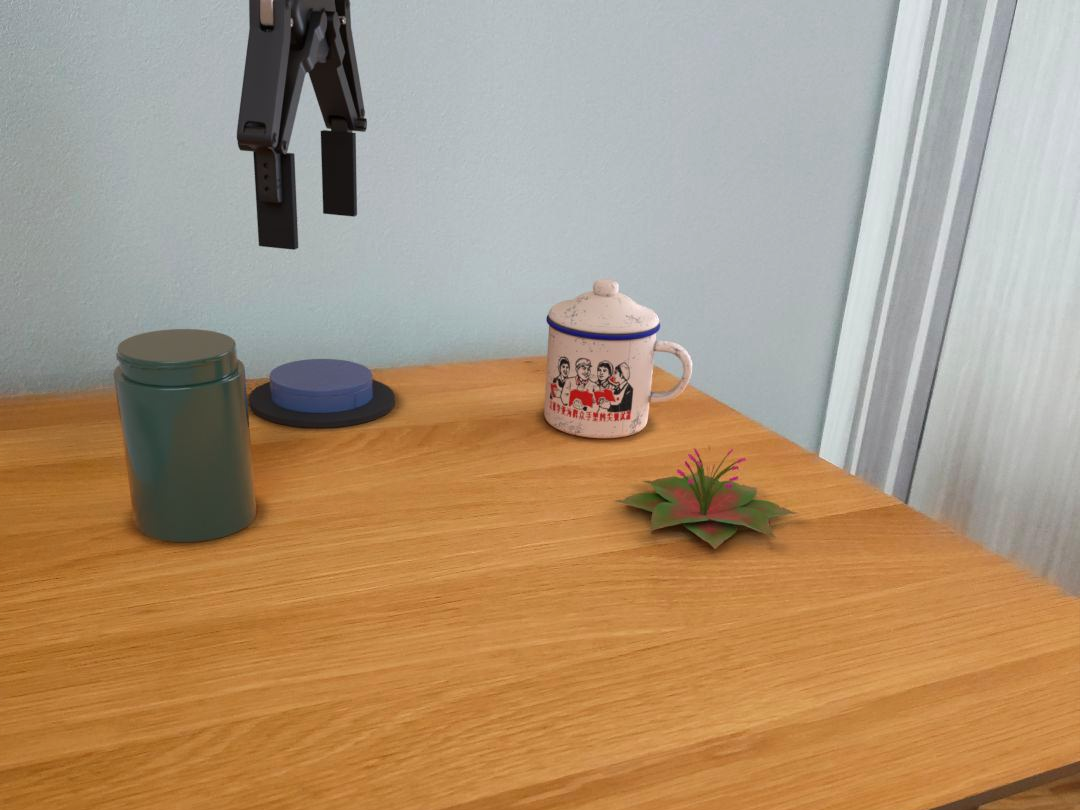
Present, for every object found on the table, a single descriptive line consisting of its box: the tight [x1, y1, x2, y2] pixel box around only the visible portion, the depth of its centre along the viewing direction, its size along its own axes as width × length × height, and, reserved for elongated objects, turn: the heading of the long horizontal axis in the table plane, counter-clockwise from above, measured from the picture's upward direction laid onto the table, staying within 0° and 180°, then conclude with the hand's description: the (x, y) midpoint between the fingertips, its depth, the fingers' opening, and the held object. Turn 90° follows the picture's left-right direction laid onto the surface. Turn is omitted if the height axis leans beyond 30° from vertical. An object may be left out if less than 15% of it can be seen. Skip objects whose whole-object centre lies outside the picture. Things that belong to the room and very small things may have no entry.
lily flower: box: [613, 446, 798, 550], centre depth 72 cm, size 12×12×5 cm
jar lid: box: [268, 358, 373, 413], centre depth 88 cm, size 8×8×2 cm
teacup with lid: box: [543, 278, 693, 439], centre depth 85 cm, size 12×9×12 cm
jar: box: [113, 328, 257, 543], centre depth 66 cm, size 8×8×12 cm
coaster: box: [248, 378, 396, 429], centre depth 89 cm, size 12×12×1 cm
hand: (311, 230), depth 83 cm, fingers open, 13 cm apart
